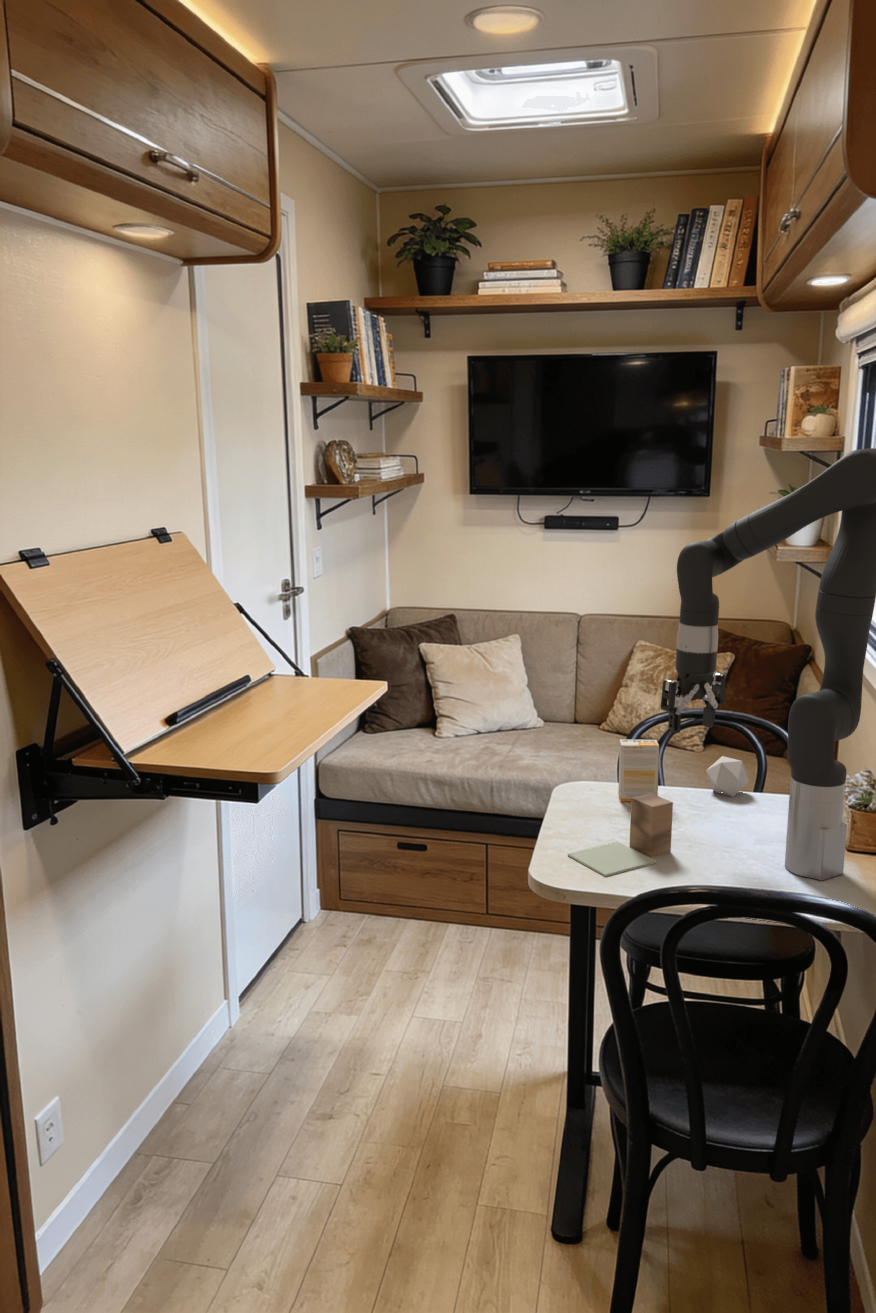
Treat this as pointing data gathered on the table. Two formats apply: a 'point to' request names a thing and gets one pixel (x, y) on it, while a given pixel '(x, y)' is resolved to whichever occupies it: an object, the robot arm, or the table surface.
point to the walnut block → (651, 824)
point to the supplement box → (638, 768)
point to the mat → (611, 858)
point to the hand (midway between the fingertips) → (691, 729)
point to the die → (727, 776)
